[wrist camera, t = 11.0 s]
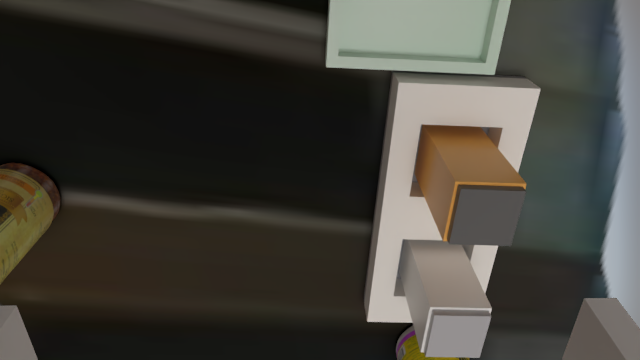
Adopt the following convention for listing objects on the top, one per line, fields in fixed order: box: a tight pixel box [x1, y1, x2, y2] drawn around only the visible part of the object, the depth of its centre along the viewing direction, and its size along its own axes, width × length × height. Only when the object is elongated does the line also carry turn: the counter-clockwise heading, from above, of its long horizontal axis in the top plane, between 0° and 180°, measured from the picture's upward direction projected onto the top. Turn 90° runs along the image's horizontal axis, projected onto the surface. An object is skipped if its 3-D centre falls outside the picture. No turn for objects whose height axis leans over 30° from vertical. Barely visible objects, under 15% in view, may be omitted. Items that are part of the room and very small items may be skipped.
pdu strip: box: [364, 70, 541, 323], centre depth 41 cm, size 22×10×3 cm, turn 177°
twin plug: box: [399, 239, 492, 358], centre depth 40 cm, size 4×4×10 cm
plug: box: [414, 124, 526, 246], centre depth 36 cm, size 4×4×10 cm
